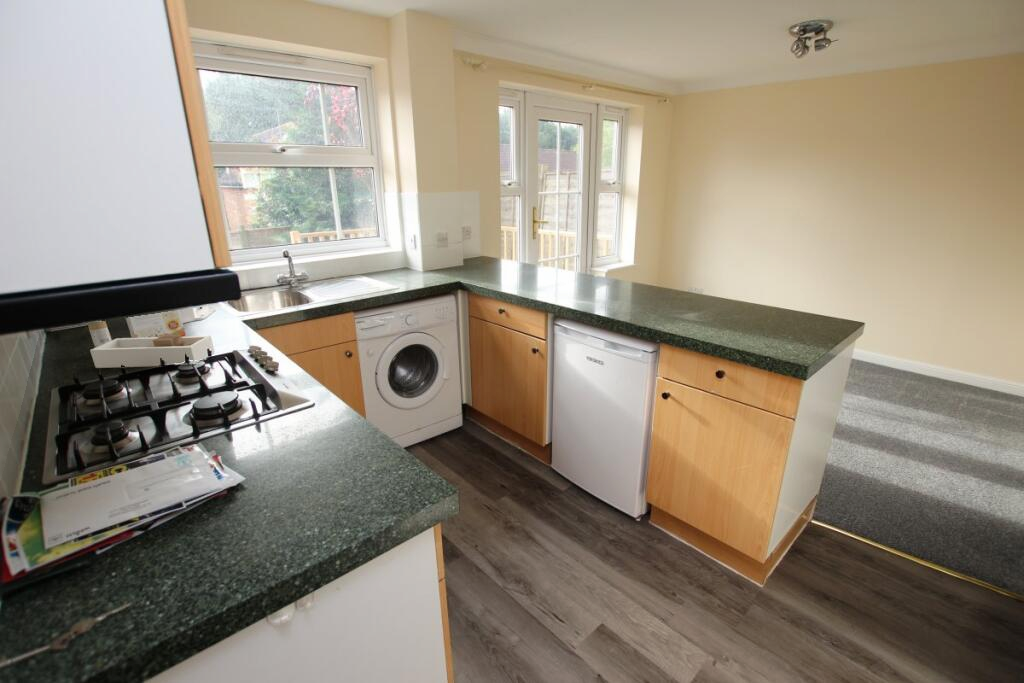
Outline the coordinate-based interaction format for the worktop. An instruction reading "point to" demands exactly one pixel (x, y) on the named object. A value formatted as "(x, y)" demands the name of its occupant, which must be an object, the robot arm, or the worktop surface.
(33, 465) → the worktop surface
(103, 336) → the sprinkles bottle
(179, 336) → the walnut block
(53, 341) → the worktop surface
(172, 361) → the channel
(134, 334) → the cracker box
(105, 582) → the worktop surface
